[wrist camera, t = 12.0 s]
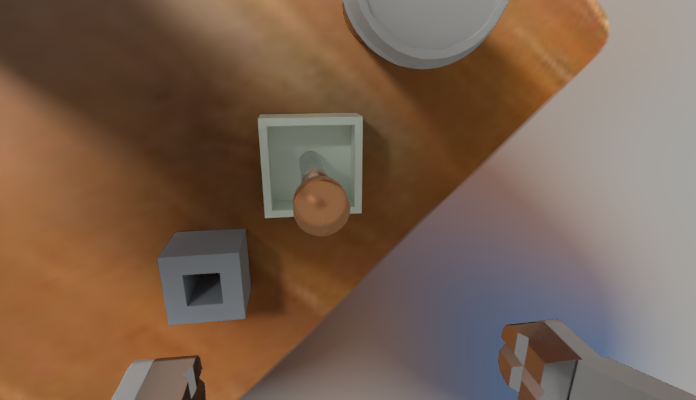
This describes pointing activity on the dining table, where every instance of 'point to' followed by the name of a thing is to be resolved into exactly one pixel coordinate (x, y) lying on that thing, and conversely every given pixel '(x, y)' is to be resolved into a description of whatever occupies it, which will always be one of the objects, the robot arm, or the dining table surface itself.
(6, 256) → the dining table surface
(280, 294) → the dining table surface
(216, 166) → the dining table surface
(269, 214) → the tray
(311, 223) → the pin
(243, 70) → the dining table surface
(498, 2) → the disposable coffee cup
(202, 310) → the pin block
